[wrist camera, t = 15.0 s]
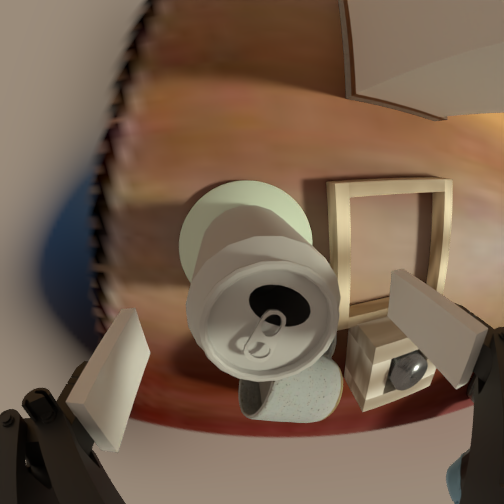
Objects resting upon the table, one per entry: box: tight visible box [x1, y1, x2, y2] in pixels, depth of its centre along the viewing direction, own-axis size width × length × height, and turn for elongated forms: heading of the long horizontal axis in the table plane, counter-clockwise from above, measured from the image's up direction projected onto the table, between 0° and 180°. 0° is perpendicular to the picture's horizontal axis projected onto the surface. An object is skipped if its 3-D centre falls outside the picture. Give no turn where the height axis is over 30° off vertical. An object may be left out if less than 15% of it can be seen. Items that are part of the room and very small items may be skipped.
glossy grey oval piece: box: [387, 350, 428, 391], centre depth 24 cm, size 4×4×5 cm
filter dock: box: [326, 177, 452, 412], centre depth 24 cm, size 22×13×6 cm, turn 7°
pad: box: [179, 180, 312, 283], centre depth 23 cm, size 11×11×1 cm
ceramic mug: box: [238, 335, 343, 423], centre depth 24 cm, size 11×8×8 cm
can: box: [186, 205, 341, 382], centre depth 17 cm, size 8×8×12 cm
